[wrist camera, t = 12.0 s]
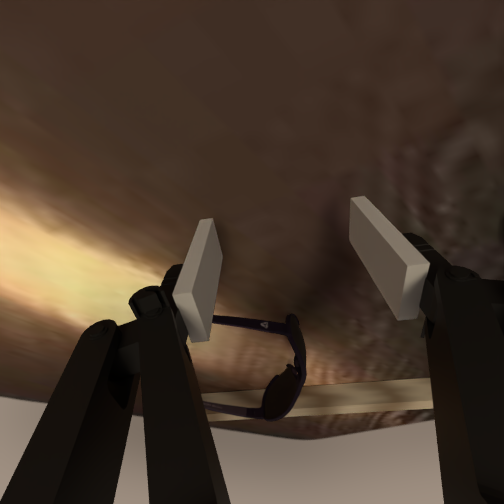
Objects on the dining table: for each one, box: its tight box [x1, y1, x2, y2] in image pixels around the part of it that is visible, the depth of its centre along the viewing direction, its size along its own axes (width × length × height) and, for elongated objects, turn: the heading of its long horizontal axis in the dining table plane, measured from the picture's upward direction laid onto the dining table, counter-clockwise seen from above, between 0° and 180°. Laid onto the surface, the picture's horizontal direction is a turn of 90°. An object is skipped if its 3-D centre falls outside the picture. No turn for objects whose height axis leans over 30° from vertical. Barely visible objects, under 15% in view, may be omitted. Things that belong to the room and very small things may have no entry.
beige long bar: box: [201, 378, 433, 421], centre depth 29 cm, size 32×6×4 cm, turn 99°
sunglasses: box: [203, 314, 307, 421], centre depth 26 cm, size 14×16×5 cm
